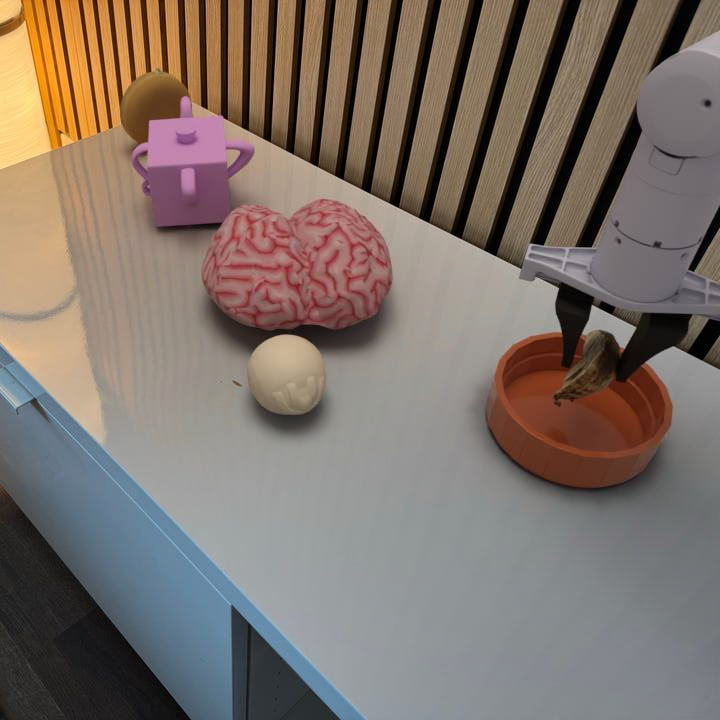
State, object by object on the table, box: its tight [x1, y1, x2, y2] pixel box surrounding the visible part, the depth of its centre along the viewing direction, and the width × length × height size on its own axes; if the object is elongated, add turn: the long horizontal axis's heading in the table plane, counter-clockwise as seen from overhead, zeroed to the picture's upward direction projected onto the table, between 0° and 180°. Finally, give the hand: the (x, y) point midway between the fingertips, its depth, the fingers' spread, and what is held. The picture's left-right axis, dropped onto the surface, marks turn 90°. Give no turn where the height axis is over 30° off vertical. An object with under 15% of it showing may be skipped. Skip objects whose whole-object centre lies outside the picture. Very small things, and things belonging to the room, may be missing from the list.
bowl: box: [485, 331, 674, 489], centre depth 63 cm, size 14×14×4 cm
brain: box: [201, 198, 394, 331], centre depth 74 cm, size 19×18×10 cm
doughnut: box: [119, 67, 193, 145], centre depth 96 cm, size 9×4×10 cm, turn 122°
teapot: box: [130, 96, 256, 228], centre depth 87 cm, size 18×14×10 cm
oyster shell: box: [552, 329, 621, 407], centre depth 59 cm, size 6×4×10 cm
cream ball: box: [246, 334, 327, 416], centre depth 65 cm, size 7×7×7 cm
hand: (594, 366), depth 59 cm, fingers closed on oyster shell, 3 cm apart
